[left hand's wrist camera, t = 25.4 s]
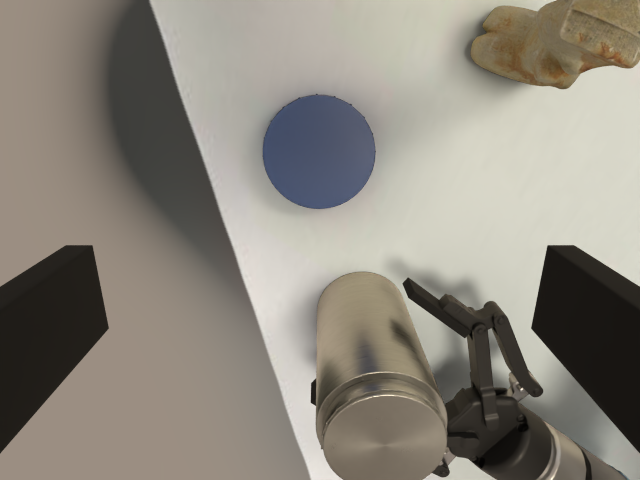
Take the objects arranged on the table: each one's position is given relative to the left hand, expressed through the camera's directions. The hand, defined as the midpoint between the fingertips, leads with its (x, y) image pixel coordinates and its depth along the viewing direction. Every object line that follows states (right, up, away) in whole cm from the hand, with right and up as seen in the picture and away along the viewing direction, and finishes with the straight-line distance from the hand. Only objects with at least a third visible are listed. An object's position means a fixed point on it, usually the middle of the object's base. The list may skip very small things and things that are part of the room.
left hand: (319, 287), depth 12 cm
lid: (0, +9, +25) cm, 27 cm away
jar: (+4, -6, +32) cm, 33 cm away
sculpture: (+16, +18, +24) cm, 34 cm away
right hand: (+3, -8, +26) cm, 27 cm away
